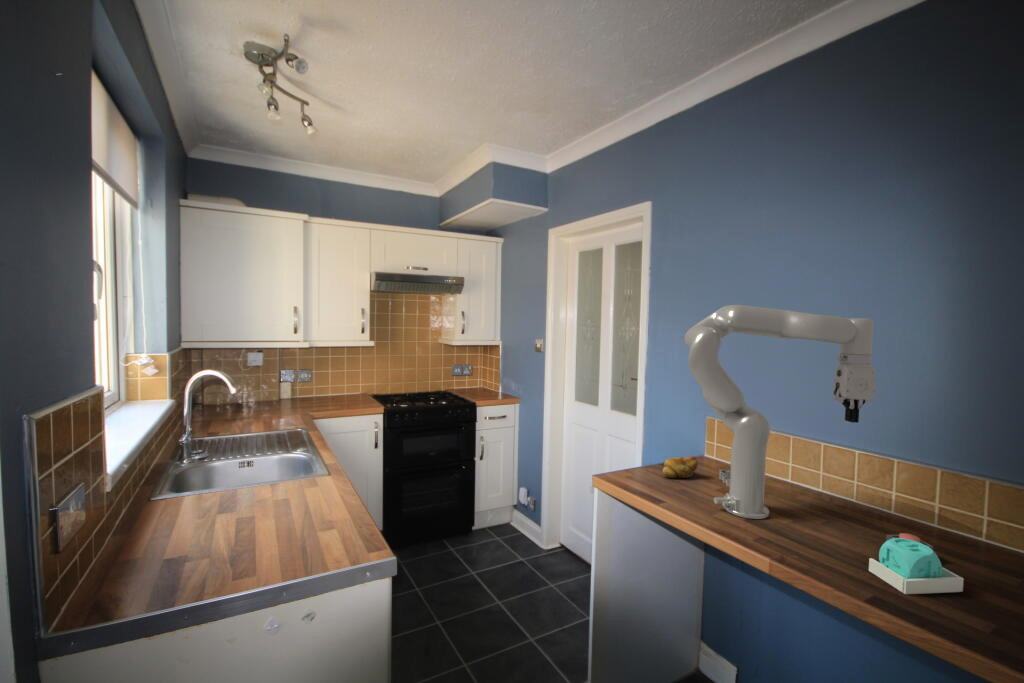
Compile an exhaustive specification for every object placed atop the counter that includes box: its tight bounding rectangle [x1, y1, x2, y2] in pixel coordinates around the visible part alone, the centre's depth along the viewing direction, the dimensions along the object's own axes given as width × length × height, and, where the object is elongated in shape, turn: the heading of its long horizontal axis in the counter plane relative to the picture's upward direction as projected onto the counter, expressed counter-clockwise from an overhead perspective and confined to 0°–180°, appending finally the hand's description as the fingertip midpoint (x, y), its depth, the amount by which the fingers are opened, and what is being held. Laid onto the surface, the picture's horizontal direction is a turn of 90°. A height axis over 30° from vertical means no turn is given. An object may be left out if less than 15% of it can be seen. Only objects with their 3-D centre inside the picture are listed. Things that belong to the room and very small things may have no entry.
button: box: [898, 532, 921, 543], centre depth 117 cm, size 4×4×4 cm
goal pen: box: [868, 557, 964, 595], centre depth 106 cm, size 14×9×3 cm
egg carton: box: [718, 468, 730, 488], centre depth 167 cm, size 11×8×4 cm
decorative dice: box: [878, 538, 943, 579], centre depth 106 cm, size 8×8×8 cm
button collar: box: [885, 533, 934, 551], centre depth 117 cm, size 6×6×4 cm
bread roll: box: [662, 456, 699, 479], centre depth 173 cm, size 13×10×8 cm
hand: (851, 421), depth 138 cm, fingers closed
